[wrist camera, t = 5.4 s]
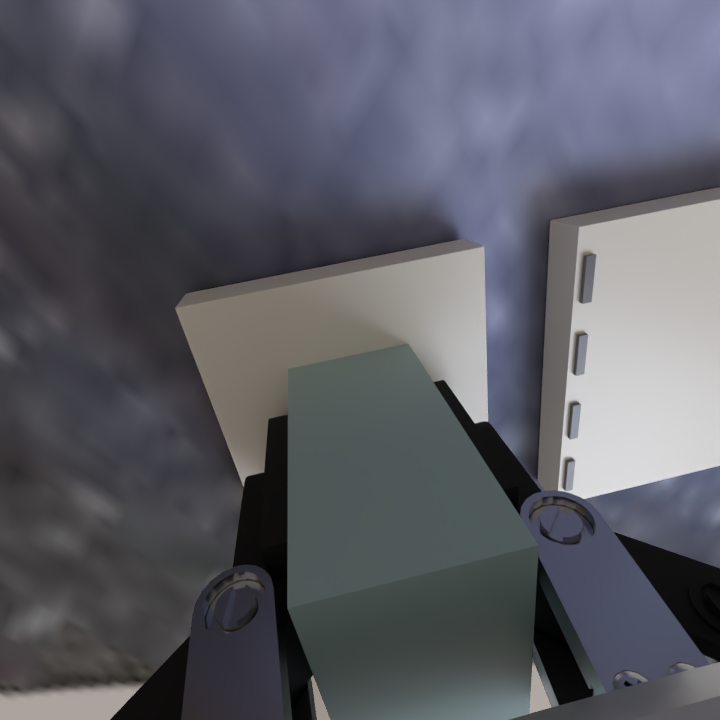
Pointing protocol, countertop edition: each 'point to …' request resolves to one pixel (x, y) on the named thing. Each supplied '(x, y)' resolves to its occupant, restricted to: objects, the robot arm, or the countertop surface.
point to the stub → (381, 478)
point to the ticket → (632, 345)
